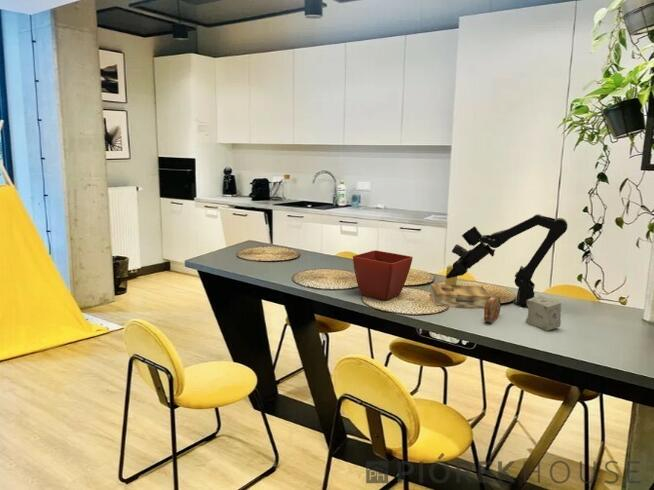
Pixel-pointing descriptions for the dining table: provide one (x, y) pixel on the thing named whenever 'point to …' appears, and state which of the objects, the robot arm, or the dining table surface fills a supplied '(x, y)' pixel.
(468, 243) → the robot arm
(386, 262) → the plant pot
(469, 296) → the tan flat piece
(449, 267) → the yellow block
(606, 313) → the dining table surface
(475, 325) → the dining table surface
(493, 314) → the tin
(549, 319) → the grey concrete block
